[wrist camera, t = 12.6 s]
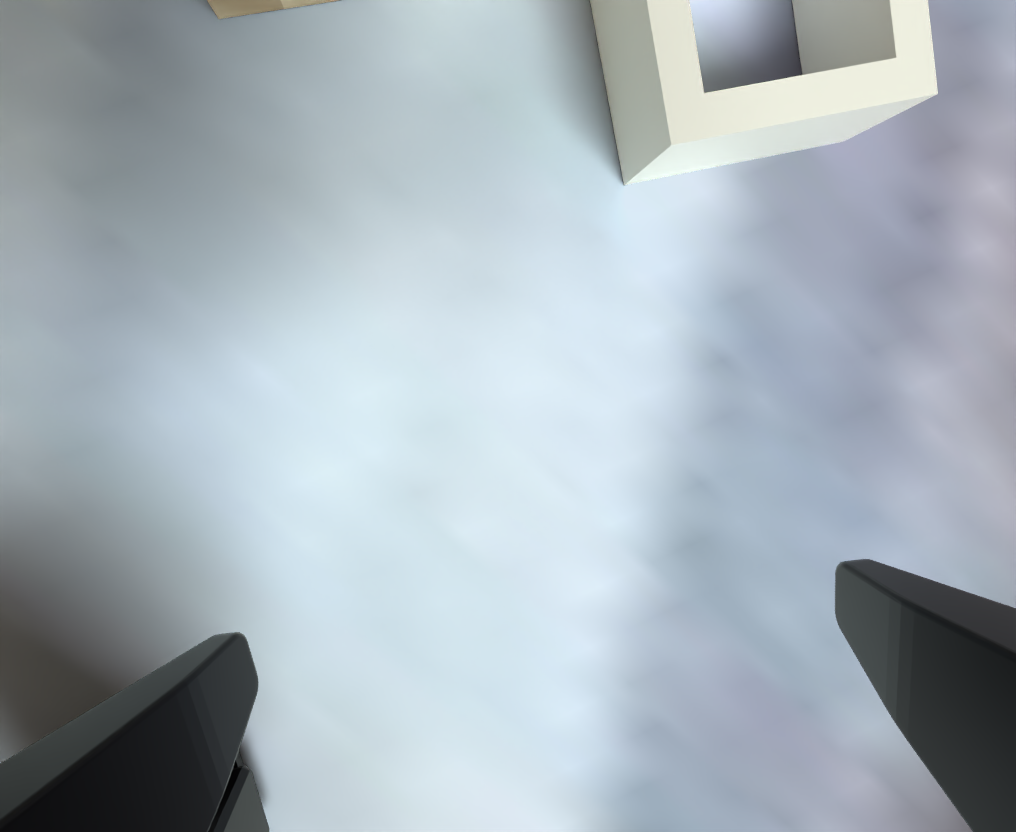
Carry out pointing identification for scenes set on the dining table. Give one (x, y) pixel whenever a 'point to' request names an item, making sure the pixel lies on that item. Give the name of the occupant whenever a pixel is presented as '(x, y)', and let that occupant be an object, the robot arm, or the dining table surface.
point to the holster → (762, 106)
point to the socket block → (256, 6)
